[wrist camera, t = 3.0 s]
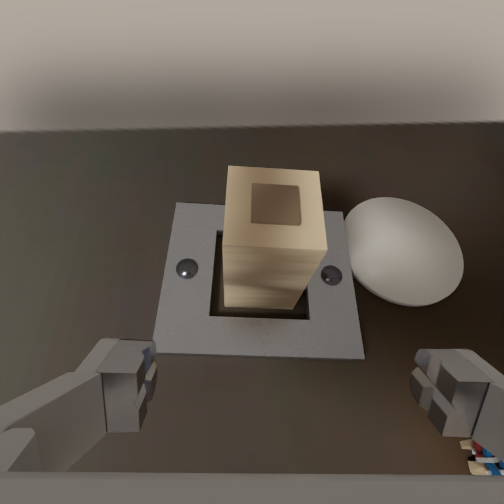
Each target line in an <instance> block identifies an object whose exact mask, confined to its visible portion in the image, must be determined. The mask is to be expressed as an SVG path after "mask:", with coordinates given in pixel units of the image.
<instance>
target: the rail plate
mask: <svg viewBox="0 0 504 504" xmlns="http://www.w3.org/2000/svg"><path fill="white" fill-rule="evenodd" d="M323 213H324V222H325V231H326V239H327V248H328V251H327V252H326V254H325V256H324V257H323V259H322V261H321V262H320V264H319V266H318V268H317V269H316V271H315V273H314V274H313V276H312V278H311V279H310V281H309V283H308V284H307V286H306V288H305V296H306V311H307V320H296V319H270V318H244V317H218V316H210V309H211V298H212V286H213V275H214V264H215V252H216V241H217V235H219V236H223V230H224V217H225V205H212V204H194V203H176V209H175V215H174V220H173V226H172V232H171V238H170V243H169V249H168V255H167V260H166V266H165V272H164V278H163V283H162V289H161V295H160V301H159V306H158V312H157V318H156V324H155V329H154V335H153V340H154V341H155V342H156V352H157V353H156V355H183V356H214V357H245V358H276V359H307V360H338V361H362V360H364V359H365V357H364V350H363V344H362V337H361V330H360V324H359V317H358V311H357V304H356V297H355V291H354V284H353V278H352V271H351V265H350V258H349V251H348V245H347V238H346V232H345V225H344V219H343V212H336V211H323Z"/></svg>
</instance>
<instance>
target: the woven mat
mask: <svg viewBox="0 0 504 504" xmlns="http://www.w3.org/2000/svg"><path fill="white" fill-rule="evenodd" d="M460 444H461V447H462V449H472V454H475V459H474V461H468V465H469V469H470V472H471V473H472V474H473V475H504V463H503V462H502V461H501V460H499V459H498V458H497V457H495V456H494V455H493V454H491V453H490V452H489V451H487V450H486V449H485V448H483V447H482V446H481V445H479V444H478V443H477V442H475V441H474V440H473V439H469V440H464V441H460Z"/></svg>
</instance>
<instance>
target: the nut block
mask: <svg viewBox="0 0 504 504" xmlns="http://www.w3.org/2000/svg"><path fill="white" fill-rule="evenodd" d="M222 249H223V276H224V303H225V307H246V308H270V309H293V308H294V307H295V305H296V303H297V301H298V300H299V298H300V296H301V295H302V293H303V291H304V290H305V288H306V286H307V284H308V283H309V281H310V279H311V278H312V276H313V274H314V273H315V271H316V269H317V268H318V266H319V264H320V262H321V261H322V259H323V257H324V256H325V254H326V252H327V251H328V248H327V239H326V231H325V222H324V213H323V205H322V196H321V187H320V178H319V171H305V170H289V169H273V168H257V167H241V166H228V178H227V191H226V204H225V217H224V230H223V243H222Z"/></svg>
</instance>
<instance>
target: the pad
mask: <svg viewBox="0 0 504 504" xmlns="http://www.w3.org/2000/svg"><path fill="white" fill-rule="evenodd" d="M344 225H345V232H346V238H347V245H348V251H349V258H350V265H351V271H352V275H353V276H354V278H355V279H356V280H357V281H358V282H359V283H360V284H361V285H362V286H363V287H365V288H366V289H367V290H368V291H370V292H371V293H373V294H374V295H376V296H378V297H380V298H381V299H384V300H386V301H388V302H391V303H394V304H397V305H403V306H410V307H419V306H427V305H431V304H434V303H436V302H438V301H440V300H442V299H444V298H445V297H447V296H449V295H450V294H451V293H452V292H453V291H454V290H455V289H456V288H457V286H458V285H459V283H460V281H461V278H462V275H463V269H464V262H463V255H462V251H461V248H460V246H459V244H458V241H457V239H456V238H455V236H454V235H453V233H452V232H451V230H450V229H449V228H448V227H447V226H446V224H445V223H444V222H443V221H442V220H440V219H439V218H438V217H437V216H436V215H434V214H433V213H432V212H430V211H429V210H427V209H425V208H424V207H422V206H420V205H418V204H415V203H413V202H410V201H407V200H403V199H398V198H391V197H380V198H373V199H370V200H367V201H364V202H362V203H360V204H359V205H357V206H356V207H355V208H353V209H352V210H351V211H350V213H349V214H348V215H347V217H346V219H345V220H344Z"/></svg>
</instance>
